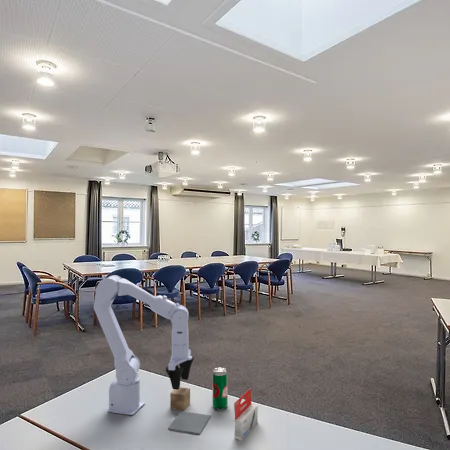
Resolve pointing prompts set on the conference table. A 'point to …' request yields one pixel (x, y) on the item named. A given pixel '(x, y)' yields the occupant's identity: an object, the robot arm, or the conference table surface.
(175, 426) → the pad
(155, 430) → the conference table surface
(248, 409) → the ink cartridge box
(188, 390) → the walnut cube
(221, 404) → the soda can
